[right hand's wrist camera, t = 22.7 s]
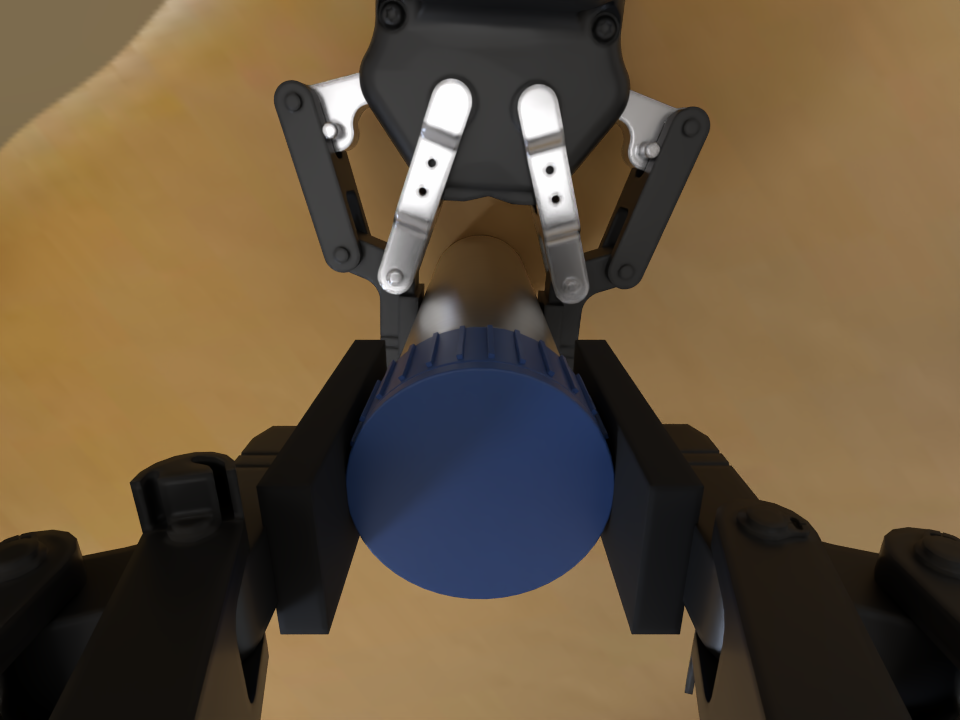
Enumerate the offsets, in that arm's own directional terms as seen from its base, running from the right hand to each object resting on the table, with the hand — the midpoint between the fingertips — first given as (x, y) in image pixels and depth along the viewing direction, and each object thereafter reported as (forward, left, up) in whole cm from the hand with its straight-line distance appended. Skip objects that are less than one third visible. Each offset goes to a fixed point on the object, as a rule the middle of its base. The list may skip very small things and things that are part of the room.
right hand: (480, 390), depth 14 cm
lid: (0, 0, +4) cm, 4 cm away
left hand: (-1, +2, -7) cm, 7 cm away
